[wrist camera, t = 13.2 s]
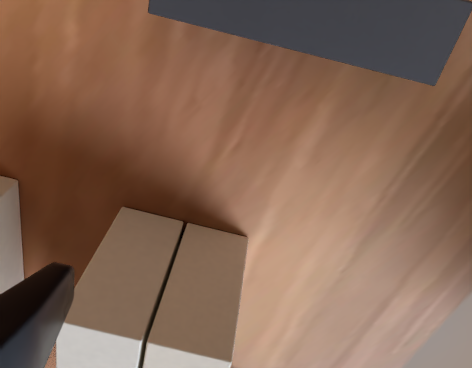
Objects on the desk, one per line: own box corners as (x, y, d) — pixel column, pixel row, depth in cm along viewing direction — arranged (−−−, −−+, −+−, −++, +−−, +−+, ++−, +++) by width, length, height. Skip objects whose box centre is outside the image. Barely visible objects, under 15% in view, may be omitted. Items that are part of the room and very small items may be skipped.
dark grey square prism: (452, -8, 17) (475, 3, 15) (418, 66, 18) (435, 86, 16) (174, -81, 17) (157, -80, 14) (164, 1, 18) (147, 13, 16)
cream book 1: (183, 221, 24) (141, 341, 17) (163, 326, 29) (123, 452, 22) (121, 206, 24) (54, 320, 17) (111, 314, 29) (56, 437, 22)
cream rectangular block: (249, 237, 24) (232, 362, 17) (217, 339, 29) (195, 469, 22) (187, 221, 24) (146, 342, 17) (166, 327, 29) (127, 453, 22)
